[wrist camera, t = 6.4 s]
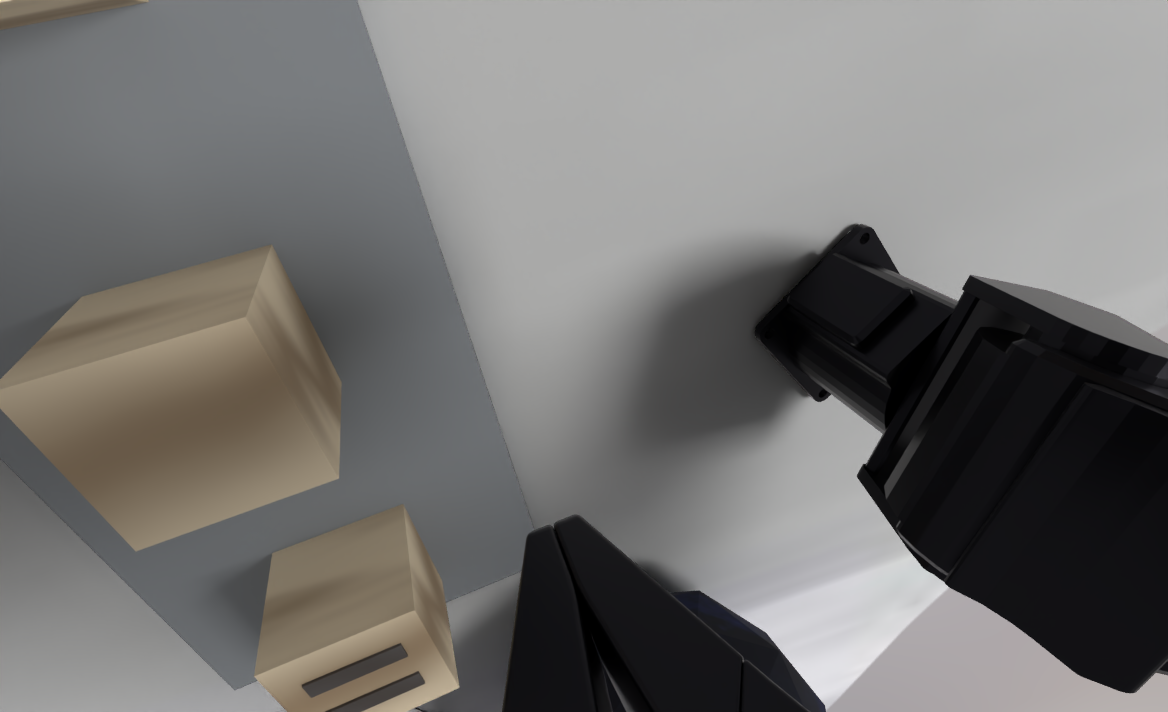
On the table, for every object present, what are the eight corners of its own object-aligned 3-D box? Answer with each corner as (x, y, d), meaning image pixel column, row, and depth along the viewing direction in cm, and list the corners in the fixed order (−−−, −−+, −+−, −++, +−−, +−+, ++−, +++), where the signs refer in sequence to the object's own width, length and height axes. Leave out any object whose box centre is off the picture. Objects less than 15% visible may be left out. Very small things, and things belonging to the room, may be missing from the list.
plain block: (341, 382, 19) (339, 478, 15) (183, 433, 18) (135, 551, 14) (271, 244, 16) (245, 316, 12) (81, 296, 16) (-14, 393, 11)
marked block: (442, 580, 25) (459, 690, 21) (325, 628, 24) (319, 753, 20) (403, 503, 23) (415, 612, 18) (269, 554, 22) (250, 680, 17)
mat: (541, 551, 27) (544, 561, 27) (236, 677, 25) (234, 690, 24) (211, -434, 11) (204, -455, 11) (-800, -379, 8) (-873, -404, 8)
